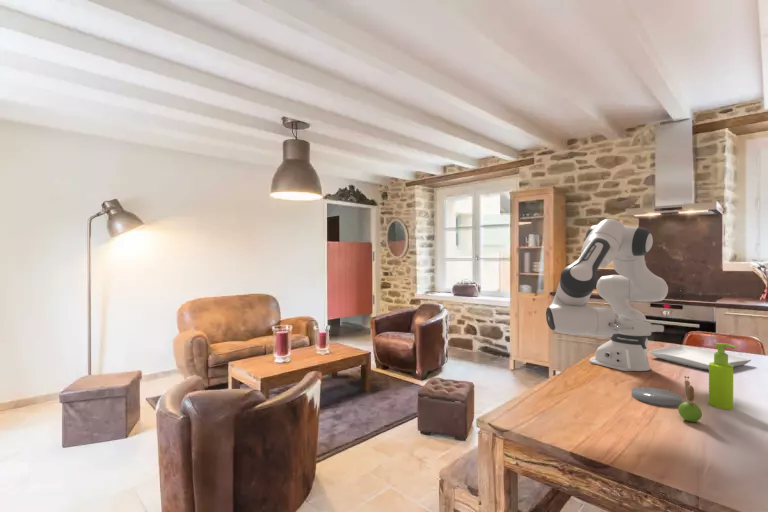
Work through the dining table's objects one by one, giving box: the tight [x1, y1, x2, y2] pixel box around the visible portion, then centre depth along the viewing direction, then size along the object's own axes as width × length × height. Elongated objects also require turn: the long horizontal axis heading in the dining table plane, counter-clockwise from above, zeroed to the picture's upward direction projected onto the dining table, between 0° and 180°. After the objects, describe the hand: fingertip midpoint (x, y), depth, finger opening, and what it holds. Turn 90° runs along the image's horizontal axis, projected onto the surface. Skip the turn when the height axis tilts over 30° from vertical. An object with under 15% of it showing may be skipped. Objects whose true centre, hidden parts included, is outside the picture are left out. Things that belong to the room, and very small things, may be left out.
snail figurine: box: [677, 375, 703, 423], centre depth 114 cm, size 5×6×12 cm
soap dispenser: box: [708, 342, 739, 411], centre depth 124 cm, size 6×7×20 cm
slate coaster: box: [630, 386, 683, 408], centre depth 131 cm, size 14×14×2 cm
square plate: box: [647, 345, 752, 371], centre depth 174 cm, size 27×27×4 cm
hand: (655, 326), depth 116 cm, fingers open, 8 cm apart
